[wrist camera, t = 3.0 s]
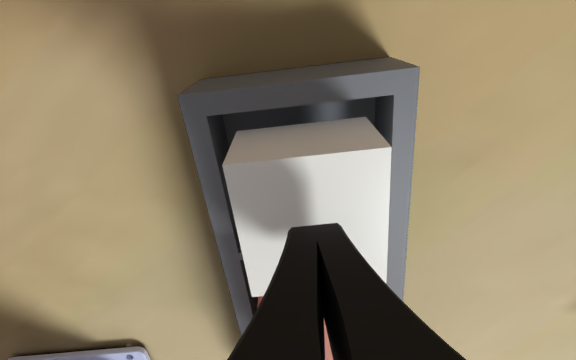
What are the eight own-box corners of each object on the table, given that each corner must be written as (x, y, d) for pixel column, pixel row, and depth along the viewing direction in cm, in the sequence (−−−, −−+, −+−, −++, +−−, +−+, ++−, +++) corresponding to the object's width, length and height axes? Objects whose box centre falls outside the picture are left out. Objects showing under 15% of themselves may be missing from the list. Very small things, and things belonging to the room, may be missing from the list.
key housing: (266, 370, 22) (264, 421, 20) (200, 79, 13) (177, 95, 11) (380, 361, 22) (395, 412, 19) (390, 56, 13) (419, 67, 10)
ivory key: (258, 242, 14) (251, 297, 11) (236, 130, 11) (222, 165, 9) (366, 232, 13) (386, 284, 11) (365, 116, 11) (391, 146, 8)
